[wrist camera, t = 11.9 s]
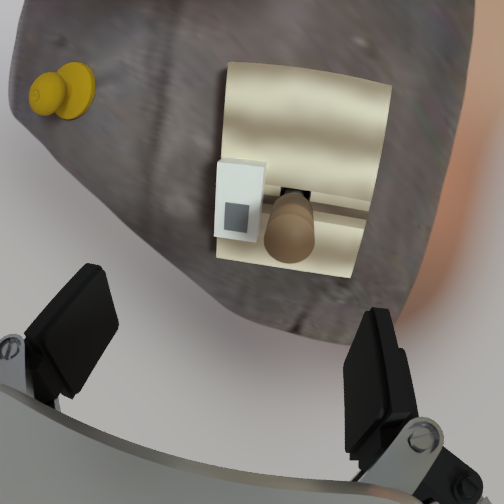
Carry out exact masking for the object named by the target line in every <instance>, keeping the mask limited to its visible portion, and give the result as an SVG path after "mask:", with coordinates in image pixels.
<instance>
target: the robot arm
mask: <svg viewBox="0 0 504 504" xmlns="http://www.w3.org/2000/svg"><path fill="white" fill-rule="evenodd" d="M118 326H119V322H118V318H117V314H116V311H115V308H114V304H113V300H112V296H111V293H110V289H109V285H108V281H107V277H106V273H105V271H104V270H103V269H102V267H101V266H99V265H95V264H90V263H87V264H85V265H84V266H83V267H82V268H81V269H80V270H79V271H78V272H77V273H76V274H75V275H74V276H73V277H72V278H71V279H70V281H69V282H68V283H67V284H66V285H65V286H64V287H63V288H62V289H61V290H60V291H59V293H58V294H57V295H56V296H55V297H54V298H53V299H52V300H51V301H50V303H49V304H48V305H47V306H46V307H45V309H44V310H43V311H42V312H41V313H40V314H39V315H38V317H37V318H36V319H35V320H34V321H33V323H32V324H31V325H30V326H29V327H28V329H27V330H26V331H25V332H24V334H25V336H26V338H25V339H24V340H23V338H22V337H21V336H20V335H17V334H9V335H7V336H4V337H3V338H2V339H0V504H491V502H490V501H489V499H488V498H487V497H485V498H483V497H482V492H483V482H482V479H481V477H480V476H479V475H478V473H477V472H475V471H474V470H473V469H472V468H470V467H469V466H468V465H466V464H465V463H464V462H462V461H461V460H460V459H459V458H457V457H456V456H455V455H454V454H452V453H451V452H450V451H448V450H447V449H446V448H445V447H444V446H443V444H444V435H443V431H442V429H441V428H440V426H439V425H438V424H437V423H436V422H435V421H434V420H432V419H430V418H426V417H419V415H418V410H417V404H416V399H415V393H414V388H413V384H412V379H411V374H410V370H409V365H408V361H407V357H406V353H405V351H404V349H403V348H398V344H397V339H396V335H395V331H394V327H393V323H392V319H391V316H390V312H389V310H388V309H384V308H375V307H372V308H371V309H370V311H365V313H364V315H363V318H362V320H361V323H360V326H359V328H358V331H357V333H356V335H355V338H354V340H353V343H352V345H351V347H350V350H349V352H348V355H347V357H346V359H345V362H344V366H343V378H344V406H345V451H346V453H350V460H359V468H360V469H361V470H360V471H359V472H358V473H357V474H356V475H355V476H354V477H353V478H352V479H351V480H350V481H333V480H316V479H303V478H292V477H283V476H273V475H266V474H258V473H252V472H245V471H239V470H234V469H228V468H223V467H218V466H214V465H209V464H204V463H200V462H196V461H192V460H188V459H184V458H180V457H177V456H173V455H169V454H166V453H163V452H159V451H156V450H153V449H150V448H147V447H143V446H141V445H138V444H135V443H132V442H129V441H126V440H124V439H121V438H118V437H116V436H113V435H111V434H108V433H106V432H103V431H101V430H98V429H96V428H94V427H91V426H89V425H87V424H84V423H82V422H80V421H77V420H76V419H73V418H71V417H69V416H67V415H65V414H63V413H61V411H60V405H59V400H58V396H59V394H60V393H61V394H62V395H64V396H66V397H68V398H70V399H73V398H74V396H75V394H77V393H79V392H80V391H81V389H82V387H83V386H84V384H85V382H86V381H87V379H88V377H89V375H90V374H91V372H92V370H93V369H94V367H95V365H96V364H97V362H98V360H99V359H100V357H101V356H102V354H103V352H104V351H105V349H106V347H107V346H108V344H109V343H110V341H111V339H112V338H113V336H114V335H115V333H116V331H117V330H118Z"/></svg>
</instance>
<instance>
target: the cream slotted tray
mask: <svg viewBox="0 0 504 504" xmlns="http://www.w3.org/2000/svg"><path fill="white" fill-rule="evenodd" d="M391 90H392V86H390V85H386V84H382V83H378V82H374V81H370V80H366V79H361V78H357V77H352V76H347V75H342V74H337V73H331V72H325V71H319V70H313V69H306V68H298V67H290V66H281V65H271V64H259V63H243V62H228V70H227V82H226V94H225V107H224V120H223V134H222V150H221V159H222V158H223V157H228V158H238V159H247V160H255V161H264V162H267V168H266V177H265V186H264V195H263V205H262V214H261V223H260V232H259V236H258V239H257V242H256V243H254V242H248V241H241V240H234V239H228V238H221V237H217V253H216V257H217V258H223V259H229V260H236V261H242V262H248V263H254V264H261V265H267V266H274V267H280V268H286V269H293V270H299V271H306V272H313V273H319V274H326V275H332V276H339V277H346V278H351V274H352V271H353V268H354V264H355V261H356V257H357V254H358V250H359V246H360V243H361V239H362V235H363V231H364V227H365V224H366V220H367V216H368V212H369V207H370V203H371V199H372V195H373V190H374V186H375V181H376V176H377V172H378V167H379V162H380V157H381V152H382V146H383V141H384V135H385V129H386V123H387V117H388V111H389V104H390V97H391ZM281 187H287V188H294V189H300V190H307V191H310V192H309V198H308V201H309V202H310V204H311V206H312V208H313V217H314V234H315V245H314V249H313V251H312V253H311V254H310V255H309V256H308V257H307V258H306V259H305V260H303V261H301V262H298V263H293V264H287V263H282V262H279V261H277V260H275V259H274V258H272V257H271V256H270V255H269V254H268V252H267V251H266V249H265V246H264V234H265V231H266V227H267V224H268V220H269V216H270V213H271V209H272V206H273V204H274V202H275V201H276V200H277V199H278V198H279V197H280V195H281Z"/></svg>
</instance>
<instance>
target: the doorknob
mask: <svg viewBox="0 0 504 504" xmlns="http://www.w3.org/2000/svg"><path fill="white" fill-rule="evenodd" d="M95 89H96V83H95V77H94V74H93V72H92V70H91V69H90V68H89V66H87V65H86V64H84V63H81V62H71V63H68V64H66V65H64V66H62V67H61V68H60V69H59V70H58V71H57V73H55V72H46V73H44V74H42V75H40V76H39V77H38V78H37V79H36V80H35V81H34V82H33V84H32V86H31V88H30V91H29V103H30V106H31V108H32V110H33V111H34V112H35V113H37V114H39V115H42V116H47V115H50V114H52V113H54V112H55V113H56V114H57V115H58V116H59V117H61V118H63V119H73V118H77V117H79V116H81V115H82V114H84V113H85V112H86V111H87V110H88V108H89V107H90V105H91V103H92V101H93V98H94V95H95Z"/></svg>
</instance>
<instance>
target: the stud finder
mask: <svg viewBox="0 0 504 504" xmlns="http://www.w3.org/2000/svg"><path fill="white" fill-rule="evenodd" d="M266 168H267V162H264V161H255V160H247V159H238V158H228V157H223V158H222V159H220V160H219V161H218V162H217V177H216V198H215V222H214V237H221V238H228V239H234V240H241V241H248V242H254V243H256V242H257V239H258V236H259V232H260V223H261V214H262V205H263V195H264V186H265V177H266Z"/></svg>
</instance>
